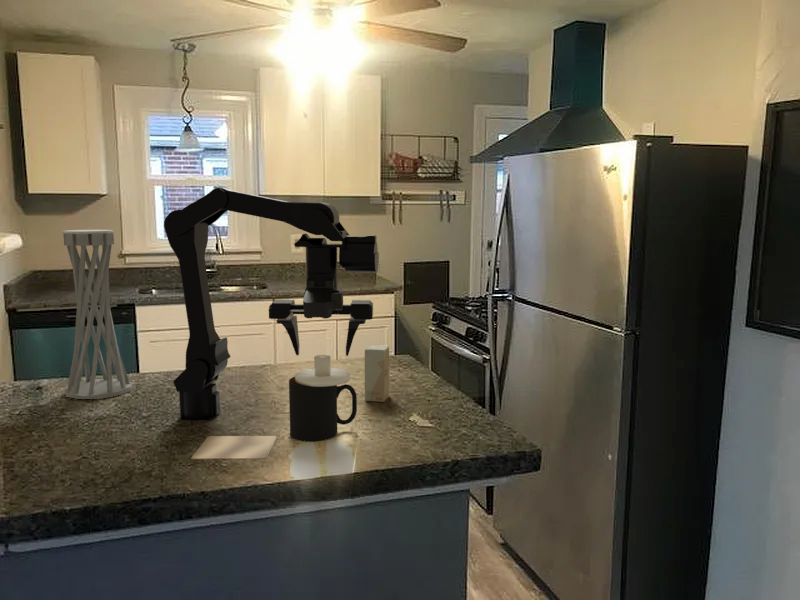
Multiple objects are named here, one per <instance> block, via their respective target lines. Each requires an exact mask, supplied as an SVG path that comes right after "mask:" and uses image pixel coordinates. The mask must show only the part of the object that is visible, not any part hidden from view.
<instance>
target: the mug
mask: <svg viewBox="0 0 800 600" xmlns="http://www.w3.org/2000/svg"><path fill="white" fill-rule="evenodd" d="M345 389H346V390H348V391H349V392H350V394H351V403H352V404H351V406H352V409H351V414H350V416H349V417H348V418H347V419H341V418H340V416H339V414H338V398H339V395H340V393H341V392H342V391H343V390H345ZM357 397H358V396H357V392H356V390H355V388H354V387H353V386H352V385H350V384H347V383H343V384H340V385H335V386H325V387H314V386H305V385H301V384H298V383H297V382H296V381H295V376H293V377H291V378H290V379H289V380H288V399H289V400H288V402H289V403H288V404H289V436H290V437H291V439H293V440H296V441H299V442H306V443H307V442H308V443H309V442H311V443H313V442H314V443H315V442H322V441H327V440H331V439H333V438H334V437H336V436H337V435H338V424H339V425H348V424H350V423H352V422H353V420H354V419H355V418H356V415H357V411H358V409H357V408H358V401H357V400H358V398H357Z"/></svg>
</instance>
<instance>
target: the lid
mask: <svg viewBox="0 0 800 600" xmlns="http://www.w3.org/2000/svg"><path fill="white" fill-rule="evenodd" d="M313 361H314V364H313V365H314V368H308V369H303V370H300V371H297V372H296V373H295V374H294V377H295V381H296V382H297V383H298V384H301V385H305V386H314V387H325V386H335V385H337V386H341V385H344V384H347V383H348V382H349V381H350V380H351V373H350V371H348V370H346V369H342V368H337V367H331V355H328V354H318V355H315V356H314V357H313Z"/></svg>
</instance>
